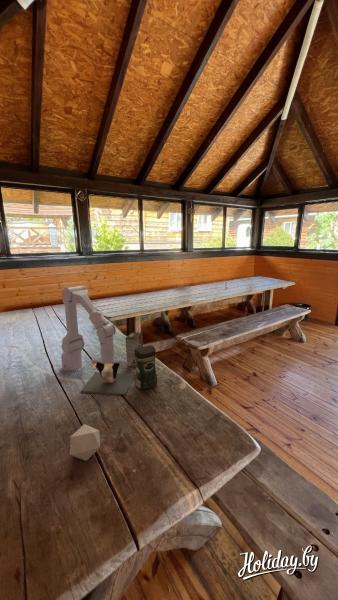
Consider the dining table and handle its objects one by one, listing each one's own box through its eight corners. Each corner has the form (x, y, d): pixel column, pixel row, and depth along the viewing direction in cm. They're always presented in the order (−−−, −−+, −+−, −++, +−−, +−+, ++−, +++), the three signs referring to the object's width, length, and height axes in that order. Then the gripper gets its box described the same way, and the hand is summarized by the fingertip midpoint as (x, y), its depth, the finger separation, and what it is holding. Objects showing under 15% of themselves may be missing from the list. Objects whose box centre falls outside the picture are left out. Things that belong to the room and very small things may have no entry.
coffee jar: (151, 377, 118) (151, 341, 114) (159, 385, 111) (159, 347, 107) (133, 383, 113) (131, 346, 109) (139, 392, 107) (138, 352, 102)
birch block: (102, 382, 111) (101, 372, 110) (106, 376, 116) (105, 366, 114) (112, 382, 110) (112, 372, 109) (116, 376, 115) (115, 367, 114)
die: (82, 440, 81) (62, 429, 75) (106, 427, 81) (87, 415, 75) (82, 468, 75) (60, 459, 69) (108, 454, 74) (87, 444, 68)
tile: (91, 369, 126) (91, 368, 126) (98, 360, 136) (98, 359, 136) (109, 370, 125) (109, 369, 125) (116, 361, 135) (116, 360, 135)
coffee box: (132, 358, 138) (131, 331, 134) (143, 359, 137) (142, 332, 133) (126, 366, 129) (125, 337, 125) (138, 367, 128) (137, 338, 124)
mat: (80, 392, 106) (80, 390, 106) (95, 373, 122) (95, 372, 122) (125, 395, 104) (125, 393, 104) (134, 375, 120) (134, 374, 120)
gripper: (125, 347, 113) (126, 374, 116) (95, 345, 114) (97, 372, 117) (121, 353, 106) (122, 382, 109) (88, 352, 107) (91, 380, 110)
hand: (109, 377), depth 112 cm, fingers closed on birch block, 5 cm apart
